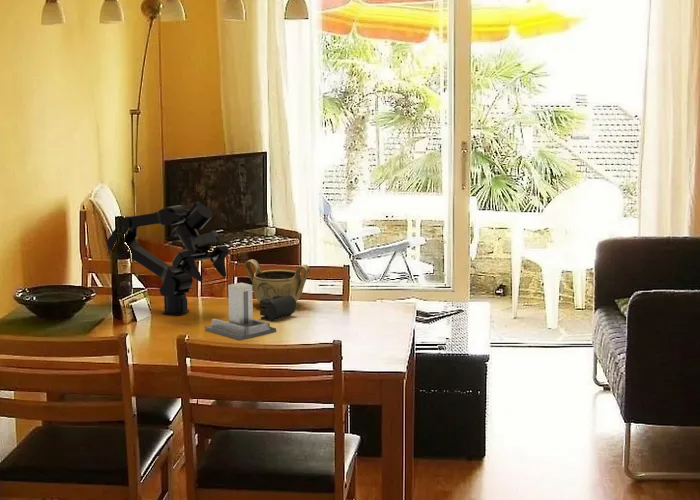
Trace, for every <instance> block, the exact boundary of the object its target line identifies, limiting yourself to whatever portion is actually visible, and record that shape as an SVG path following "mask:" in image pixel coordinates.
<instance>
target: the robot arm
mask: <svg viewBox="0 0 700 500" xmlns="http://www.w3.org/2000/svg"><path fill="white" fill-rule="evenodd" d="M213 214H214V213H213V211H212V210H211V208H209V207H207V206H206V205H205V204H202V203H201V202H200V201H197V202H194V203H193V205H192V207H190V209H186V208H185V207H184V206H183V205H181V204H180V205H179V204H178V205H173V206H172V205H171V206H167V207H163V208H161V209H159V210H157V211H155V212H151V213H144V214H140V215H128V216H125V217H123V218H122V219H124V234H125V242H126V243H127V245H128V246H129V248H130V250H131V253H132V258H131V260H133V261H135V262H136V263H138V264H140V265H141V266H143V268H145V269H147V270H149V271H150V272H152V273H153V274H155V275H156V276H157V277H159V278H160V279H161V282H162V285H161V287H160V288H159V289H158V290H159V293H160V295H161V296H162V297H163V298H164V299H163V301H164V302H163V303H164V304H163V307H164V310H162V311H161V314H163V315H171V316H172V315H174V316H181V315H183V314H186V313H189V311H190V309H188V298H187V293H189V292H190V290H191V287H192V286H193V281H194V280H193V279H195V280H197V281H198V282H200V283H202V282H203V280H204V279H203V277H202V275H201V273H200V271H199V269H198V267H197V266H196V264H195V263H196V262H195V261H197V262H198V261H203V260H210V262H211V263H212V266H213V267H214V268H215V270H216V271H217V272H218V273H219V274H220V275H221V276H222V277H223V278H226V277H227V270H226V264H225V262H226V261H225V260H226V257H227V256H228V255H229V253H230V252H231V250H230V249H229V247H228V245H225V244H224V245H217V246H214V248H213V250H212V251H209V250H211V248H212V245H214V244H217V242H218V241H219V240H220V235H219V233H218V232H217V230H211V231H209V232H208V233H202V234H199V232H198V230H202V229H203V228H204V227H205V225H206V224H207V223H209V221H210V220H211V219H212V217H213V216H214V215H213ZM151 225H160V226H173V225H177V226H176V227H173V228H172V232H171V237H179V240H180V241H181V243H182V245H183V246H182V251H178V252H177V254H176V255H175V256H174V258H173V260H172V265H169V263H166V262H165V261H163V260H161V258H159V257H157V256H156V255H154V254H152V253H151V252H149V251H148V250H147V249H145V248H143V247H142V246H140V245H139V242H138V239H136V238H137V236H138V228H139V227H145V226H151ZM110 234H111V235H110V236H109V237H108V239H107V248H108V250H109V251H110V252H111V251H112V248H113V246H114V244H115V242H116V228H115V229H114V230H113V231H112V233H110Z"/></svg>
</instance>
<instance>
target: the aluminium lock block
mask: <svg viewBox="0 0 700 500" xmlns="http://www.w3.org/2000/svg"><path fill="white" fill-rule="evenodd" d="M227 286H228V287H227V288H228V289H227V290H228V322H229V323H233V324H236V325H240V326H244V327H251V326H253V319H254V318H253V315H254V314H253V312H254V311H253V308H254V307H253V284H249V283H247V282H246V283H245V282H237V283H232V284H228V285H227Z"/></svg>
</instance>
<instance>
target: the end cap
mask: <svg viewBox="0 0 700 500" xmlns="http://www.w3.org/2000/svg"><path fill="white" fill-rule="evenodd" d="M259 307H263V308H266V310H264V309H259V315H260V316H261V317H260V321H262V320H263V321H265V322H266V321H267V322H273V321H276V320H279V319H284V318H286V317H290V316H291V315H293V314H294V313H295V312H296V311H297V301H295V299H294V298H293V297H292V296H291V295H287V296H274V297H273V299H266V298H265V299H262V300H260V302H259Z"/></svg>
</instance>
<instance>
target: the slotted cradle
mask: <svg viewBox="0 0 700 500" xmlns="http://www.w3.org/2000/svg"><path fill="white" fill-rule="evenodd" d="M270 324H271V323H270V322H268V321H267V322H266V321H264V320H263V321H262V320H259V319H256V318H253V326H251V327H244V326H240V325H236V324H233V323H229V321H225V320H221V319H217V318H212V319H211V325H208V326H205V328H204V330H205V331H206V332H209V333H210V332H211V333H213V334H216V335H220V336H224V337H227V338H231V339H234V340H237V341H243V340H246V339H251V338H255V337H260V336H264V335H268V334H272V333H276V332H277V328H276V327H272V326H271V325H270Z"/></svg>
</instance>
